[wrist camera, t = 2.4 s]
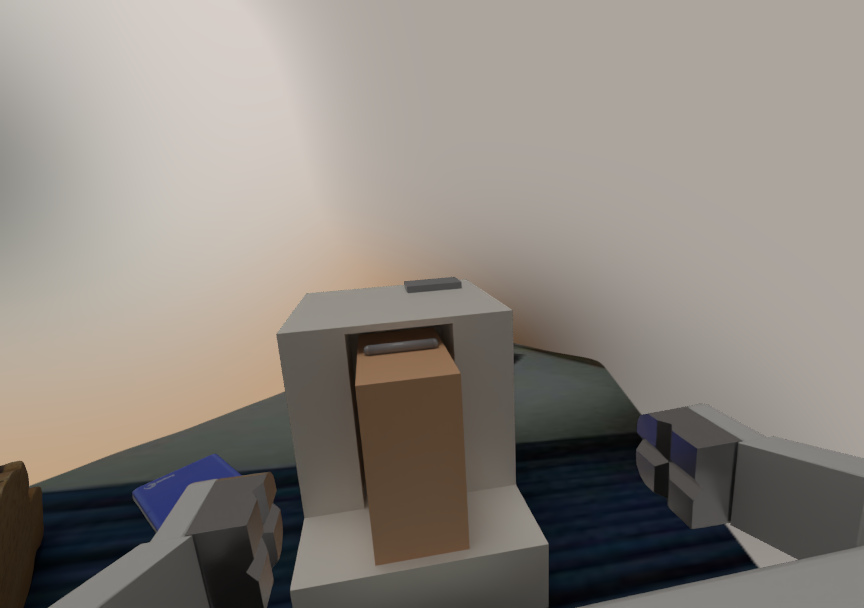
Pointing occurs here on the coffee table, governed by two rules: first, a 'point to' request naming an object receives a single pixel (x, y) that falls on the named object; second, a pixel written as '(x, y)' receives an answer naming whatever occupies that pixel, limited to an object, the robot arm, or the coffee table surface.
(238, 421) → the coffee table surface
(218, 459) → the hard drive
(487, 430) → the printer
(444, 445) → the brown handled box
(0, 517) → the wooden carving
